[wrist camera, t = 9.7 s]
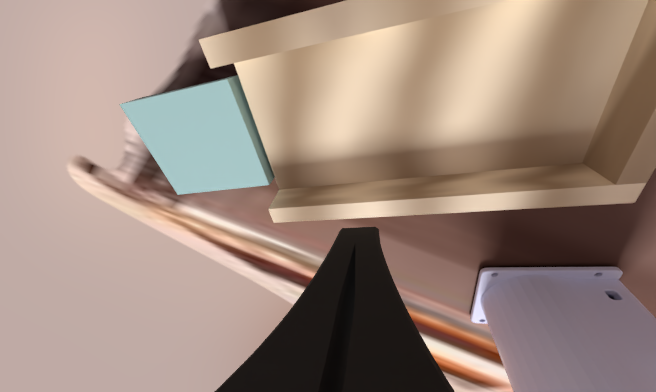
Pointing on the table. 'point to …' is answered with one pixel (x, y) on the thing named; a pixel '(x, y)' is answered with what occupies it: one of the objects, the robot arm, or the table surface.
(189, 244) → the table surface
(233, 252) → the table surface
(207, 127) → the pale teal square slab
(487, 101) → the tray
